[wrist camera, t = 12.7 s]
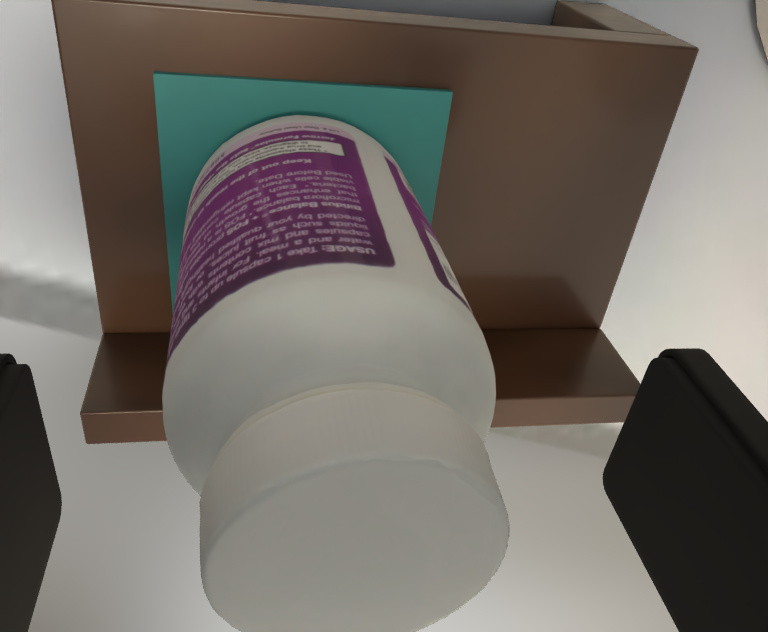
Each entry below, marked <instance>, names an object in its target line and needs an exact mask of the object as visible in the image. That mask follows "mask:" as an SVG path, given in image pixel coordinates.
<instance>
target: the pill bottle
mask: <svg viewBox="0 0 768 632" xmlns="http://www.w3.org/2000/svg"><path fill="white" fill-rule="evenodd" d="M495 401H496V383H495V372H494V366H493V363H492V359H491V355H490V352H489V349H488V346H487V344H486V341H485V338H484V335H483V333H482V331H481V329H480V327H479V325H478V323H477V320H476V318H475V316H474V315H473V313H472V311H471V308H470V306H469V304H468V302H467V300H466V298H465V296H464V294H463V292H462V290H461V288H460V286H459V284H458V282H457V280H456V277H455V275H454V273H453V271H452V269H451V267H450V264H449V263H448V261H447V259H446V257H445V255H444V253H443V251H442V249H441V247H440V245H439V242H438V240H437V238H436V236H435V234H434V232H433V230H432V228H431V226H430V224H429V222H428V220H427V218H426V216H425V214H424V212H423V210H422V208H421V206H420V204H419V202H418V200H417V198H416V196H415V194H414V192H413V190H412V188H411V187H410V185H409V183H408V181H407V180H406V178H405V176H404V174H403V172H402V170H401V169H400V167H399V165H398V164H397V162H396V161H395V160H394V158H393V157H392V156H391V155H390V154H389V153H388V152H387V151H386V150H385V149H384V148H383V147H382V145H381V144H380V143H378V142H377V141H376V140H375V139H373V138H372V137H370V136H369V135H367V134H366V133H364V132H362V131H361V130H359V129H357V128H355V127H354V126H351V125H349V124H346V123H344V122H341V121H337V120H333V119H329V118H324V117H317V116H305V115H292V116H284V117H279V118H275V119H271V120H267V121H265V122H262V123H260V124H257V125H254V126H252V127H250V128H248V129H246V130H244V131H242V132H240V133H238V134H236V135H235V136H234V137H232V138H231V139H229V140H228V141H227V142H225V143H223V144H222V145H221V146H220V147H219V148H218V149H217V150H216V151H215V152H214V154H213V155H212V156H211V157H210V159H209V160H208V161H207V162H206V164H205V165H204V167H203V169H202V170H201V172H200V174H199V176H198V178H197V180H196V182H195V184H194V186H193V190H192V193H191V196H190V200H189V204H188V209H187V215H186V221H185V226H184V234H183V243H182V250H181V256H180V265H179V273H178V281H177V288H176V296H175V304H174V311H173V318H172V325H171V334H170V342H169V348H168V355H167V363H166V369H165V374H164V380H163V391H162V403H163V422H164V428H165V435H166V438H167V442H168V445H169V448H170V450H171V453H172V455H173V458H174V460H175V462H176V464H177V466H178V467H179V469H180V471H181V473H182V474H183V476H184V477H185V479H186V480H187V481H188V483H189V484H190V485H191V486H192V487H193V489H194V490H195V491H196V492H197V493H198V494H199V495H200V496H201V499H200V565H201V578H202V583H203V588H204V591H205V594H206V596H207V598H208V600H209V602H210V604H211V606H212V608H213V609H214V610H215V611H216V613H217V614H218V615H220V616H221V617H222V618H223V619H224V620H225V621H227V622H228V623H229V624H230V625H231V626H232V627H234V628H236V629H238V630H239V631H241V632H416V631H418V630H421V629H423V628H425V627H427V626H429V625H431V624H434V623H435V622H437V621H439V620H440V619H443V618H445V617H447V616H448V615H450V614H451V613H453V612H454V611H456V610H457V609H459V608H460V607H462V606H463V605H464V604H466V603H467V602H468V601H469V600H470V599H472V598H473V597H474V596H475V595H477V594H478V593H479V592H480V591H481V590H482V589H484V588H485V586H486V585H487V583H488V582H489V581H490V580H491V578H492V577H493V575H494V574H495V573H496V572H497V570H498V568H499V566H500V564H501V562H502V560H503V558H504V556H505V553H506V549H507V546H508V539H509V521H508V514H507V511H506V508H505V505H504V502H503V499H502V496H501V493H500V490H499V488H498V485H497V482H496V479H495V476H494V473H493V470H492V468H491V464H490V460H489V456H488V453H487V450H486V447H485V445H484V442H485V440H486V437H487V435H488V432H489V430H490V426H491V423H492V420H493V415H494V409H495Z"/></svg>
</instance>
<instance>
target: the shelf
mask: <svg viewBox="0 0 768 632" xmlns="http://www.w3.org/2000/svg"><path fill="white" fill-rule="evenodd" d="M51 2H52V9H53V15H54V22H55V28H56V35H57V41H58V47H59V54H60V60H61V67H62V73H63V80H64V86H65V92H66V99H67V105H68V112H69V118H70V125H71V131H72V137H73V144H74V150H75V157H76V163H77V170H78V176H79V182H80V189H81V195H82V202H83V208H84V215H85V221H86V227H87V234H88V240H89V247H90V253H91V260H92V266H93V272H94V279H95V285H96V292H97V298H98V305H99V311H100V317H101V324H102V330H103V335H102V338H101V342H100V345H99V349H98V352H97V356H96V359H95V363H94V366H93V370H92V373H91V377H90V380H89V384H88V387H87V391H86V394H85V398H84V401H83V405H82V408H81V412H80V415H81V420H82V425H83V431H84V435H85V440H86V443H87V444H100V443H123V442H148V441H167V438H166V435H165V428H164V422H163V403H162V391H163V380H164V374H165V369H166V363H167V355H168V348H169V342H170V334H171V325H172V318H173V311H174V304H175V296H176V288H177V281H178V273H179V265H180V256H181V250H182V243H183V234H184V226H185V221H186V215H187V209H188V204H189V200H190V196H191V193H192V190H193V186H194V184H195V182H196V180H197V178H198V176H199V174H200V172H201V170H202V169H203V167H204V165H205V164H206V162H207V161H208V160H209V159H210V157H211V156H212V155H213V154H214V152H215V151H216V150H217V149H218V148H219V147H220V146H221V145H222V144H223V143H225V142H227V141H228V140H229V139H231V138H232V137H234V136H235V135H236V134H238V133H240V132H242V131H244V130H246V129H248V128H250V127H252V126H254V125H257V124H260V123H262V122H265V121H267V120H271V119H275V118H279V117H284V116H292V115H305V116H317V117H324V118H329V119H333V120H337V121H341V122H344V123H346V124H349V125H351V126H354V127H355V128H357V129H359V130H361V131H362V132H364V133H366V134H367V135H369V136H370V137H372V138H373V139H375V140H376V141H377V142H378V143H380V144H381V145H382V147H383V148H384V149H385V150H386V151H387V152H388V153H389V154H390V155H391V156H392V157H393V158H394V160H395V161H396V162H397V164H398V165H399V167H400V169H401V170H402V172H403V174H404V176H405V178H406V180H407V181H408V183H409V185H410V187H411V188H412V190H413V192H414V194H415V196H416V198H417V200H418V202H419V204H420V206H421V208H422V210H423V212H424V214H425V216H426V218H427V220H428V222H429V224H430V226H431V228H432V230H433V232H434V234H435V236H436V238H437V240H438V242H439V245H440V247H441V249H442V251H443V253H444V255H445V257H446V259H447V261H448V263H449V264H450V267H451V269H452V271H453V273H454V275H455V277H456V280H457V282H458V284H459V286H460V288H461V290H462V292H463V294H464V296H465V298H466V300H467V302H468V304H469V306H470V308H471V311H472V313H473V315H474V316H475V318H476V320H477V323H478V325H479V327H480V329H481V331H482V333H483V335H484V338H485V341H486V344H487V346H488V349H489V352H490V355H491V359H492V363H493V366H494V372H495V383H496V401H495V409H494V415H493V420H492V423H491V426H490V428H494V427H519V426H544V425H569V424H593V423H618V422H625V420H626V417H627V415H628V413H629V410H630V408H631V406H632V403H633V401H634V399H635V396H636V394H637V392H638V389H639V387H640V385H641V384H640V383H639V381H638V380H637V378H636V377H635V376H634V374H633V373H632V372H631V370H630V369H629V367H628V366H627V365H626V363H625V362H624V360H623V359H622V358H621V356H620V355H619V354H618V352H617V351H616V349H615V348H614V347H613V345H612V344H611V342H610V341H609V340H608V338H607V337H606V335H605V334H604V333H603V331H602V330H601V329H600V326H601V324H602V321H603V318H604V315H605V312H606V310H607V307H608V304H609V301H610V298H611V296H612V293H613V290H614V287H615V284H616V281H617V279H618V276H619V273H620V270H621V267H622V265H623V262H624V259H625V256H626V253H627V251H628V248H629V245H630V242H631V239H632V236H633V234H634V231H635V228H636V225H637V222H638V220H639V217H640V214H641V211H642V208H643V205H644V203H645V200H646V197H647V194H648V191H649V189H650V186H651V183H652V180H653V177H654V175H655V172H656V169H657V166H658V163H659V160H660V158H661V155H662V152H663V149H664V146H665V144H666V141H667V138H668V135H669V132H670V129H671V127H672V124H673V121H674V118H675V115H676V113H677V110H678V107H679V104H680V101H681V99H682V96H683V93H684V90H685V87H686V84H687V82H688V79H689V76H690V73H691V70H692V68H693V65H694V62H695V59H696V56H697V53H698V50H699V49H698V48H697V47H695V46H693V45H691V44H689V43H687V42H685V41H683V40H680V39H678V38H676V37H674V36H671V35H670V34H668V33H666V32H663V31H661V30H659V29H657V28H655V27H653V26H651V25H648V24H646V23H644V22H642V21H640V20H638V19H636V18H633V17H631V16H629V15H627V14H625V13H623V12H621V11H619V10H616V9H614V8H612V7H610V6H608V5H602V4H592V3H581V2H570V1H557V4H556V9H555V13H554V17H553V21H552V26H548V25H537V24H525V23H513V22H501V21H490V20H478V19H466V18H454V17H443V16H431V15H419V14H407V13H396V12H384V11H372V10H360V9H348V8H337V7H325V6H313V5H301V4H290V3H278V2H266V1H254V0H51Z"/></svg>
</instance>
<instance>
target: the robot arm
mask: <svg viewBox="0 0 768 632" xmlns="http://www.w3.org/2000/svg"><path fill="white" fill-rule="evenodd" d="M755 2H756V15H757V27H758V30H759V33H760V37H761V40H762V43H763V47H764V50H765V53H766V57H767V59H768V0H755ZM603 485H604V489H605V492H606V494H607V496H608V498H609V499H610V501H611V503H612V505H613V507H614V509H615V511H616V513H617V515H618V517H619V519H620V521H621V522H622V524H623V526H624V528H625V530H626V532H627V534H628V536H629V538H630V539H631V541H632V543H633V545H634V547H635V549H636V551H637V553H638V555H639V557H640V558H641V560H642V562H643V564H644V566H645V568H646V570H647V572H648V574H649V576H650V577H651V579H652V581H653V583H654V585H655V587H656V589H657V591H658V593H659V594H660V596H661V598H662V600H663V602H664V604H665V606H666V607H667V609H668V612H669V613H670V615H671V617H672V619H673V621H674V623H675V625H676V627H677V629H678V631H679V632H768V422H767V421H766V419H765V418H764V417H763V416H762V415H761V414H760V413H759V411H758V410H757V409H756V408H755V407H754V406H753V404H752V403H751V402H750V401H749V400H748V399H747V398H746V396H745V395H744V394H743V393H742V392H741V391H740V389H739V388H738V387H737V386H736V385H735V384H734V382H733V381H732V380H731V379H730V378H729V377H728V376H727V374H726V373H725V372H724V371H723V370H722V369H721V367H720V366H719V365H718V364H717V363H716V362H715V360H714V359H713V358H712V357H711V356H710V355H709V354H708V353H707V352H706V351H705V350H702V349H666V350H664V351H663V352H661V353H660V355H659V356H658V358H654V359H653V360H652V361H651V362H650V364H649V366H648V368H647V370H646V373H645V375H644V378H643V380H642V382H641V385H640V387H639V389H638V392H637V394H636V396H635V399H634V401H633V403H632V406H631V408H630V410H629V413H628V415H627V417H626V420H625V422H624V424H623V427H622V429H621V431H620V434H619V436H618V438H617V441H616V443H615V445H614V448H613V450H612V452H611V455H610V457H609V459H608V462H607V464H606V467H605V469H604V472H603ZM61 506H62V502H61V492H60V488H59V484H58V480H57V476H56V471H55V467H54V463H53V459H52V455H51V451H50V447H49V443H48V439H47V434H46V430H45V426H44V422H43V418H42V414H41V409H40V405H39V401H38V397H37V393H36V389H35V385H34V381H33V376H32V373H31V369H30V367H29V366H28V365H27V364H17V363H16V360H15V358H14V357H13V355H11V354H0V632H28V629H29V625H30V622H31V618H32V615H33V611H34V608H35V604H36V601H37V597H38V593H39V590H40V587H41V583H42V580H43V576H44V573H45V569H46V566H47V562H48V559H49V555H50V552H51V548H52V545H53V541H54V538H55V534H56V531H57V528H58V524H59V520H60V515H61Z"/></svg>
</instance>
